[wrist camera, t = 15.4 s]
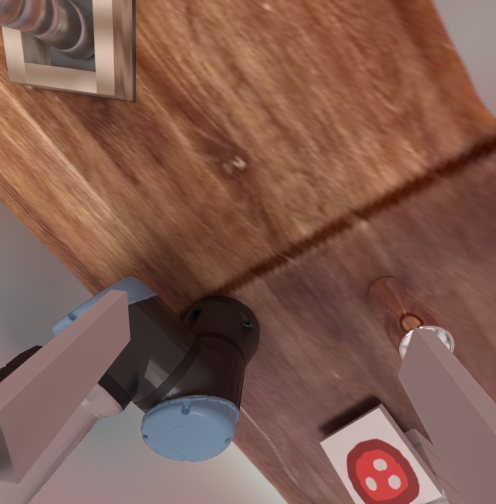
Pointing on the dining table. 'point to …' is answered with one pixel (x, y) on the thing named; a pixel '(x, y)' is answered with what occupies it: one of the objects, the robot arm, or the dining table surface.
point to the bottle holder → (81, 70)
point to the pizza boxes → (388, 463)
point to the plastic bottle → (52, 24)
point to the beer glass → (404, 314)
